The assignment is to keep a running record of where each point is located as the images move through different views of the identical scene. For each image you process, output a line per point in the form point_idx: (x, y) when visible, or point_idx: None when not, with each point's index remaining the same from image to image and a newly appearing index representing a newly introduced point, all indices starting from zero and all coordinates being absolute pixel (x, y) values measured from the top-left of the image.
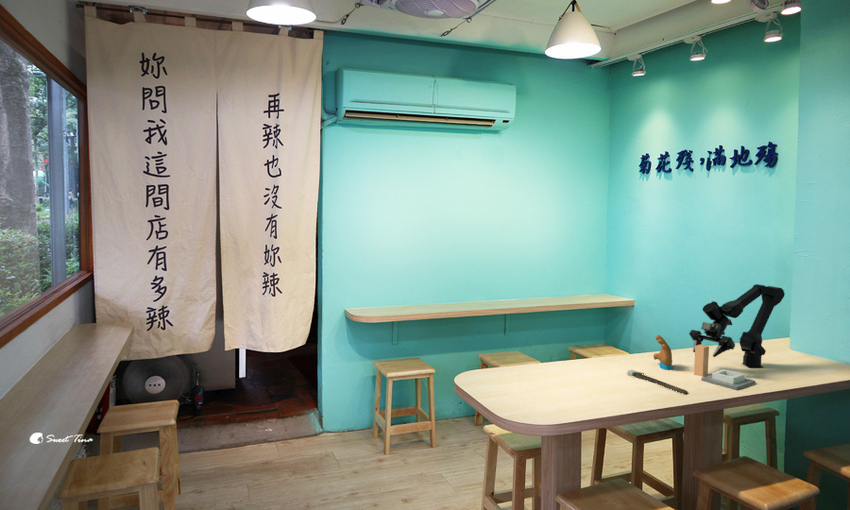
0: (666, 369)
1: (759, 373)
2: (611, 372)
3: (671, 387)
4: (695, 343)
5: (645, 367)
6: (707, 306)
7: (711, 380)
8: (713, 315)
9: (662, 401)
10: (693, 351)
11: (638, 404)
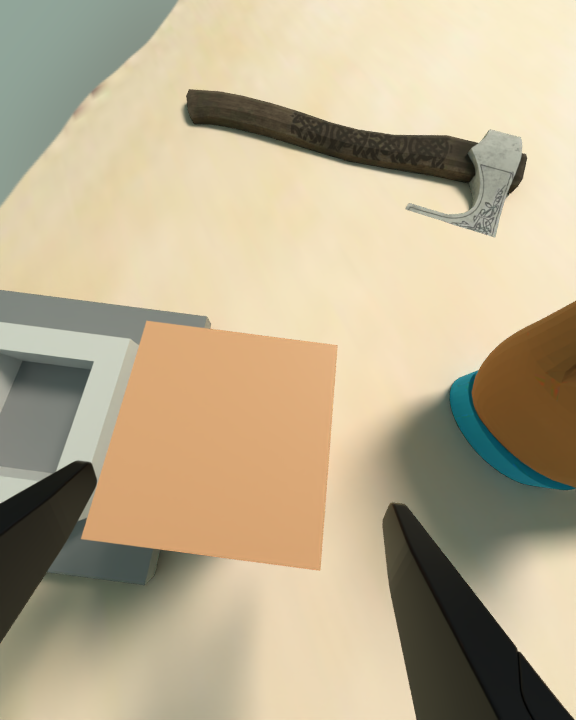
0: (463, 376)
1: None
2: (569, 147)
3: (257, 101)
4: (499, 683)
5: None
6: None
7: (141, 309)
8: None
9: (224, 12)
10: (394, 503)
11: None
